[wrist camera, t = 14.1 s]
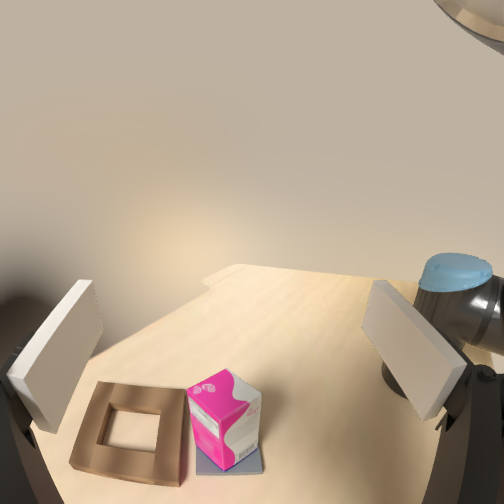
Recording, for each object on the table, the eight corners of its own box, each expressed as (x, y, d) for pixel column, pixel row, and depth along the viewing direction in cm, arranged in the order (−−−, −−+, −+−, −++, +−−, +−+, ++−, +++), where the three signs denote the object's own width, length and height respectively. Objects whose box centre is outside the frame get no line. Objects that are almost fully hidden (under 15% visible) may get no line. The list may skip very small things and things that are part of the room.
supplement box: (227, 424, 36) (227, 365, 32) (258, 449, 32) (266, 394, 28) (193, 444, 32) (185, 387, 28) (223, 473, 28) (222, 422, 24)
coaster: (255, 427, 36) (255, 424, 36) (262, 473, 29) (262, 471, 28) (197, 427, 35) (197, 424, 35) (196, 474, 28) (195, 472, 28)
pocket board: (185, 397, 41) (184, 389, 40) (179, 487, 26) (177, 481, 25) (100, 388, 39) (98, 381, 39) (73, 468, 24) (68, 462, 24)
